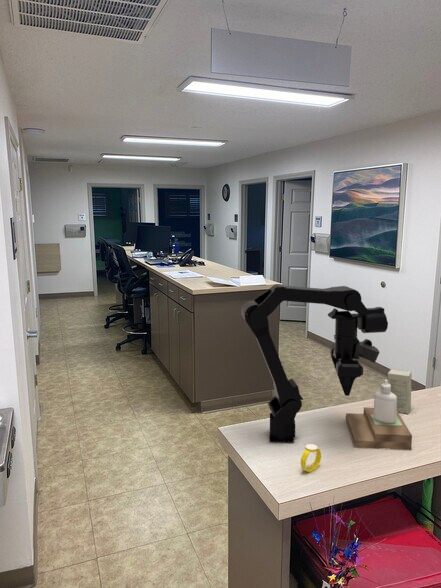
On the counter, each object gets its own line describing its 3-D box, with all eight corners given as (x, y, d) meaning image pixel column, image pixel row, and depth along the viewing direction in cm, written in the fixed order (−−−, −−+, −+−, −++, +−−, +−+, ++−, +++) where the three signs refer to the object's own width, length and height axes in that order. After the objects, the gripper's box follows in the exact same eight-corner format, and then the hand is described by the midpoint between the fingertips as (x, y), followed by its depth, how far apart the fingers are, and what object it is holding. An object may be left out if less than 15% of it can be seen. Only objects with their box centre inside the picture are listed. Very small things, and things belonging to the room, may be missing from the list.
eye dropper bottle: (387, 427, 115) (389, 386, 112) (371, 417, 120) (371, 378, 117) (398, 421, 117) (400, 381, 114) (382, 412, 122) (383, 374, 119)
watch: (314, 463, 107) (315, 440, 106) (323, 468, 105) (324, 445, 104) (297, 471, 103) (299, 447, 103) (306, 476, 101) (308, 452, 101)
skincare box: (411, 409, 135) (413, 371, 132) (408, 414, 131) (410, 376, 129) (389, 405, 138) (390, 368, 136) (386, 410, 134) (387, 372, 132)
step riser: (354, 447, 113) (355, 432, 113) (345, 419, 129) (346, 406, 128) (411, 449, 111) (412, 434, 111) (395, 421, 127) (395, 407, 126)
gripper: (385, 344, 106) (382, 404, 109) (370, 325, 125) (368, 377, 127) (338, 343, 108) (337, 402, 111) (330, 325, 126) (329, 376, 129)
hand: (344, 388), depth 119 cm, fingers open, 9 cm apart
